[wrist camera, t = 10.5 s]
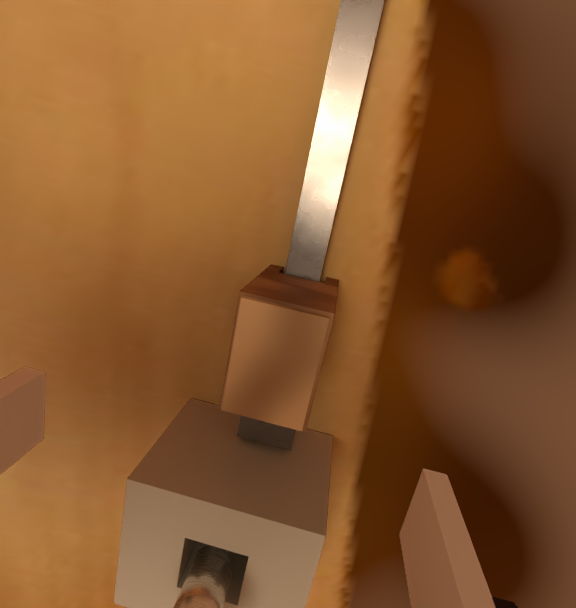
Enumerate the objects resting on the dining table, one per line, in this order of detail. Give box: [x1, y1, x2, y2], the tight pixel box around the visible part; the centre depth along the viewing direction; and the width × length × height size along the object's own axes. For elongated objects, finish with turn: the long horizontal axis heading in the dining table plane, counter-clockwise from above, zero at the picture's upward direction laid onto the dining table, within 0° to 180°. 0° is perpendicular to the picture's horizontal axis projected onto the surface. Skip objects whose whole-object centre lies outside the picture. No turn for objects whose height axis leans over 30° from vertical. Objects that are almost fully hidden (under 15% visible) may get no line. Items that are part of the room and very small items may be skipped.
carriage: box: [219, 265, 339, 431], centre depth 25 cm, size 5×7×9 cm
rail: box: [237, 0, 385, 451], centre depth 25 cm, size 4×41×4 cm, turn 168°
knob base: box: [114, 398, 333, 608], centre depth 29 cm, size 12×10×10 cm
